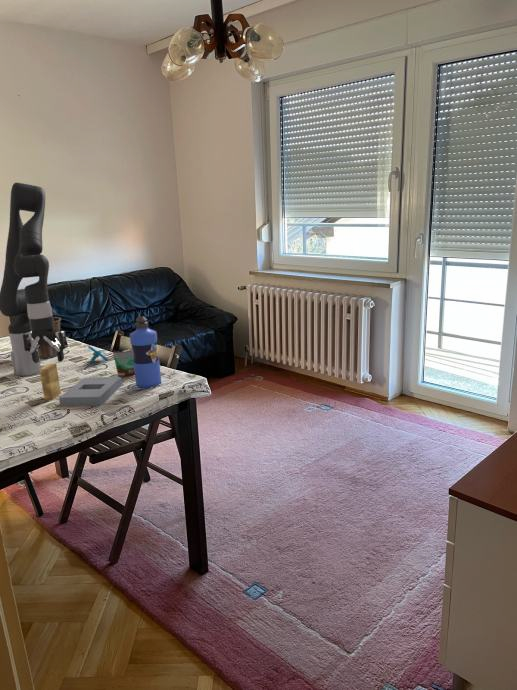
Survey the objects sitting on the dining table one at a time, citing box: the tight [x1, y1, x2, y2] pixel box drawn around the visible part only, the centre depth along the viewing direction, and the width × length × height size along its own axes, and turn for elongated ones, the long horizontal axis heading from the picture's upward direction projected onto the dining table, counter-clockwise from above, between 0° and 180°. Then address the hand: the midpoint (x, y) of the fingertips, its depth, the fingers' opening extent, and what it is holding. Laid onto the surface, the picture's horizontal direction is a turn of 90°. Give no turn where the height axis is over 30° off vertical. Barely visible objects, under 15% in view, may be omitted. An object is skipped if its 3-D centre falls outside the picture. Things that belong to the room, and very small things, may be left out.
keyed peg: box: [39, 363, 62, 401], centre depth 181 cm, size 3×6×11 cm, turn 174°
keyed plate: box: [58, 376, 123, 407], centre depth 181 cm, size 14×20×3 cm
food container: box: [112, 347, 135, 378], centre depth 201 cm, size 12×6×10 cm, turn 148°
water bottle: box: [129, 315, 162, 389], centre depth 186 cm, size 9×9×25 cm
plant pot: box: [38, 316, 62, 360], centre depth 234 cm, size 16×16×16 cm
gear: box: [87, 345, 109, 364], centre depth 221 cm, size 11×6×10 cm
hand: (48, 361), depth 179 cm, fingers open, 8 cm apart
